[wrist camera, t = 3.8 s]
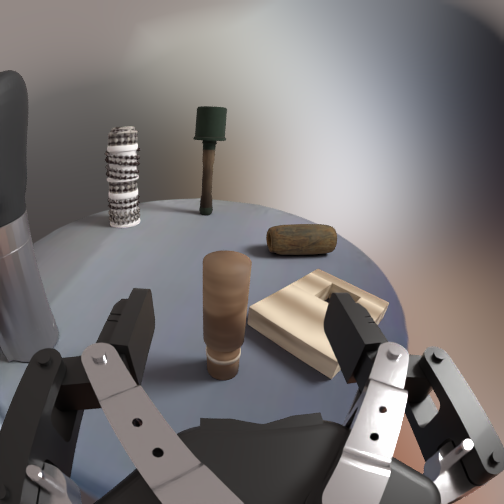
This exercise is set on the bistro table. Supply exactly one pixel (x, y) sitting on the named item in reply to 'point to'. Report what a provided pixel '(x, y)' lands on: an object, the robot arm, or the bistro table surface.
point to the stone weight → (301, 239)
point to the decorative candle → (123, 177)
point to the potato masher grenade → (209, 147)
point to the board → (308, 317)
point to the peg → (225, 310)
